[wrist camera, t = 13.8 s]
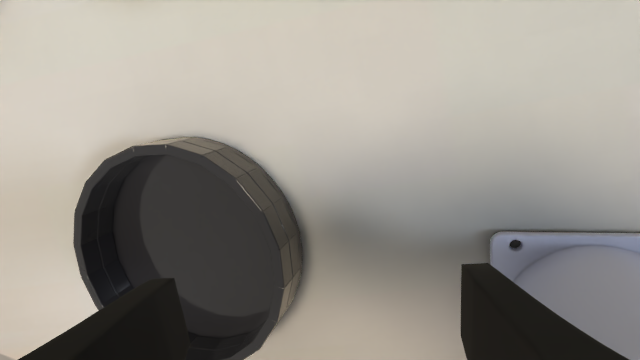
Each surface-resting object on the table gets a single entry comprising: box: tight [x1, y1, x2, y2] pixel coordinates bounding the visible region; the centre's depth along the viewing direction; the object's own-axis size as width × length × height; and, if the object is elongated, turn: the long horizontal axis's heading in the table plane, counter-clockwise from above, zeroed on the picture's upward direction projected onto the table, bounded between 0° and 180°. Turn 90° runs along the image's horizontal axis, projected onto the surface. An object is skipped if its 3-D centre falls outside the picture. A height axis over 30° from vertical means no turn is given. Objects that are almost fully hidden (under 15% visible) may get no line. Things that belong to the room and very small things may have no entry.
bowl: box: [73, 137, 302, 360], centre depth 22 cm, size 12×12×3 cm
